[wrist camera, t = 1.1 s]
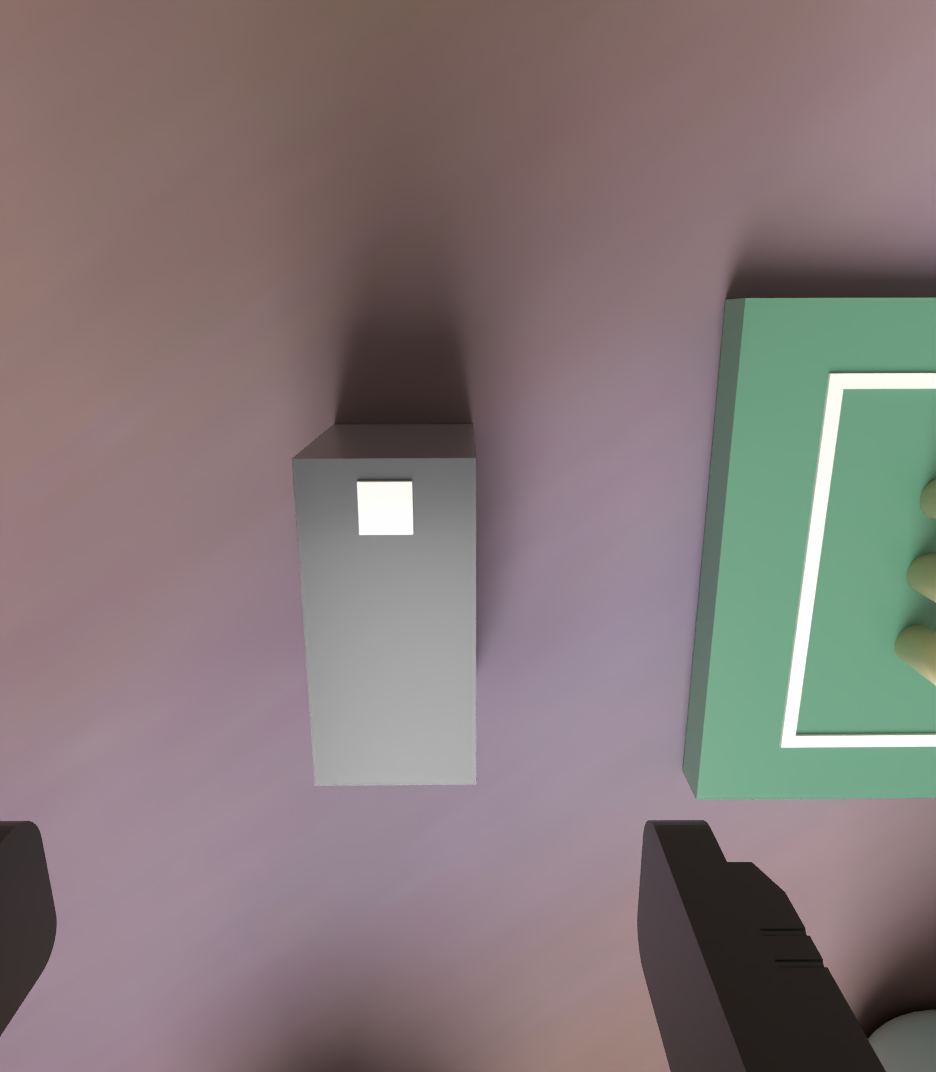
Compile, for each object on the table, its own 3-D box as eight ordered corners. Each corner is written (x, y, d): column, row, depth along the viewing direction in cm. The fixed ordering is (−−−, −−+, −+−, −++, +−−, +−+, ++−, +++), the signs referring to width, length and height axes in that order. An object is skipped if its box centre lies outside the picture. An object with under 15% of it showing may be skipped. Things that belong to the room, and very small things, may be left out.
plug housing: (333, 424, 21) (290, 459, 16) (472, 423, 21) (476, 459, 16) (347, 681, 24) (314, 787, 18) (472, 680, 24) (476, 786, 18)
